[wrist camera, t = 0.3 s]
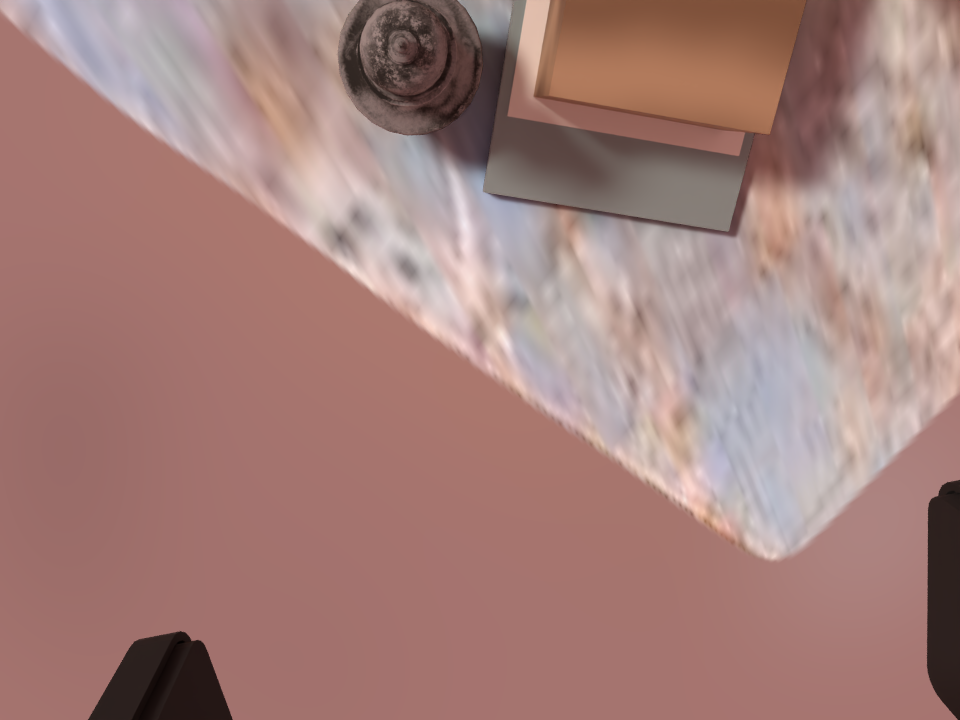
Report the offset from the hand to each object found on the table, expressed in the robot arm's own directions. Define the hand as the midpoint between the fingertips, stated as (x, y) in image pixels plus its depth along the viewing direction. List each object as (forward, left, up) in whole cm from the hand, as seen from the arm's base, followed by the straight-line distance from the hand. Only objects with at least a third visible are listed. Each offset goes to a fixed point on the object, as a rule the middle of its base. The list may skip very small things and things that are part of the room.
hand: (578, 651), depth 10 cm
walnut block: (-12, +6, -28) cm, 31 cm away
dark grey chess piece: (-8, -4, -29) cm, 30 cm away
